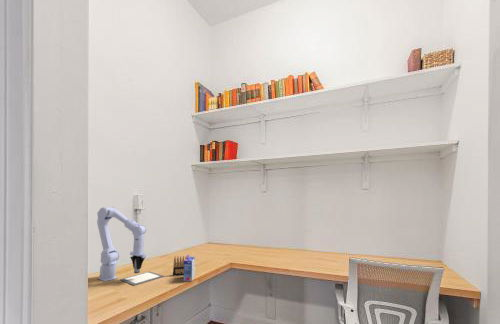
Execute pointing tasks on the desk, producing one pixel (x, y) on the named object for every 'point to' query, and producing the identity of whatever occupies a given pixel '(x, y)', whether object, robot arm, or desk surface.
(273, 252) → the desk surface
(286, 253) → the desk surface
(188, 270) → the blue drink carton
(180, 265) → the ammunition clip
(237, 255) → the desk surface
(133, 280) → the writing mat
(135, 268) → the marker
